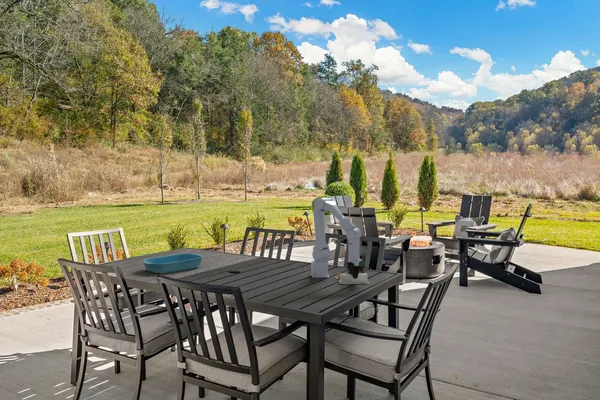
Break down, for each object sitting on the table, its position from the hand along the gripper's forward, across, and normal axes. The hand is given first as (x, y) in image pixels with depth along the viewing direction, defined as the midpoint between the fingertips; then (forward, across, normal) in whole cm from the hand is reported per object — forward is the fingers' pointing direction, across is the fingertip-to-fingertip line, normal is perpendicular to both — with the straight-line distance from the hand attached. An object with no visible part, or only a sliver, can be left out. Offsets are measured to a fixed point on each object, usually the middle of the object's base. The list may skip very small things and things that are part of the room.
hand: (353, 276), depth 227 cm
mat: (+3, 0, 0) cm, 3 cm away
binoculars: (+3, +23, -6) cm, 24 cm away
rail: (+2, 0, 0) cm, 3 cm away
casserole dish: (+3, +43, +102) cm, 111 cm away
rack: (+3, +10, 0) cm, 10 cm away
